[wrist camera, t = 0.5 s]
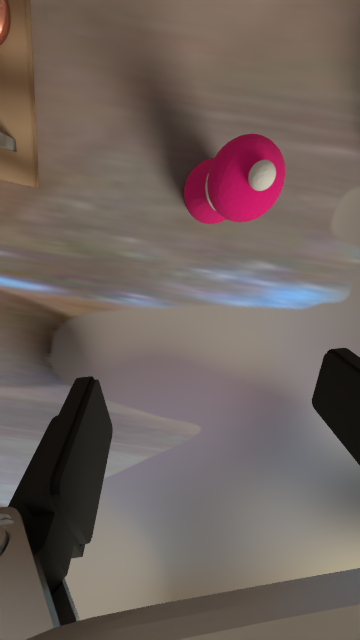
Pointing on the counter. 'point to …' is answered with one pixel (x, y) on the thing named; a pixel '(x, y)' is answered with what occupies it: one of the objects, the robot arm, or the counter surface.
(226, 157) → the pepper mill
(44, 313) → the counter surface
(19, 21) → the board
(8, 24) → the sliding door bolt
